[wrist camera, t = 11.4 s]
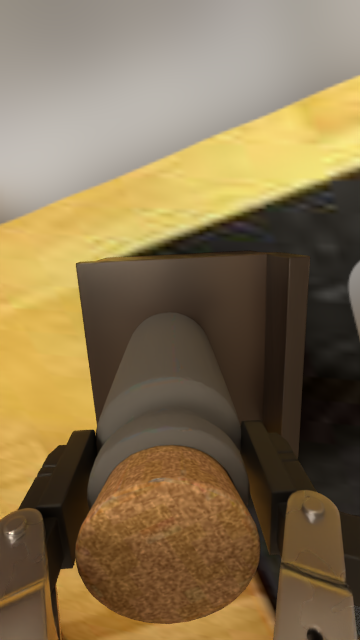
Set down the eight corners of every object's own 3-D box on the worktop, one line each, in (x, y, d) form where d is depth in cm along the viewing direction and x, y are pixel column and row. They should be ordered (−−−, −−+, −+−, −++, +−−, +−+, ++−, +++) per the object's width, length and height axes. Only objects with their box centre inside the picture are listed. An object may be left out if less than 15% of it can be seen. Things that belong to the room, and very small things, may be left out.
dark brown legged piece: (110, 399, 29) (83, 471, 20) (93, 258, 25) (53, 268, 17) (259, 391, 29) (298, 458, 20) (262, 249, 26) (310, 255, 17)
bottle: (136, 393, 23) (81, 655, 9) (121, 318, 22) (21, 482, 7) (214, 381, 23) (291, 625, 8) (204, 305, 21) (276, 443, 7)
